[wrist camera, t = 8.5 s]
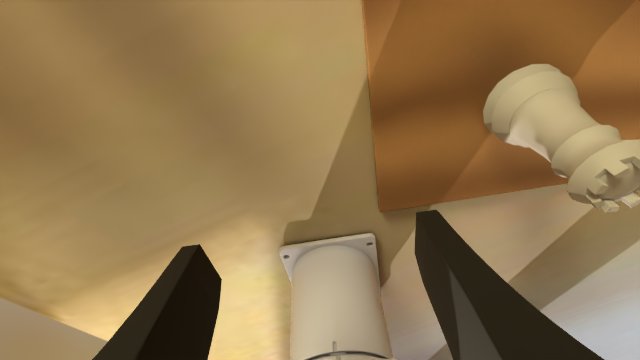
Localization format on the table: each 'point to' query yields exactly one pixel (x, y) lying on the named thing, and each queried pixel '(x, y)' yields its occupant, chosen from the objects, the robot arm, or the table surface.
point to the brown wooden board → (485, 87)
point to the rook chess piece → (565, 136)
